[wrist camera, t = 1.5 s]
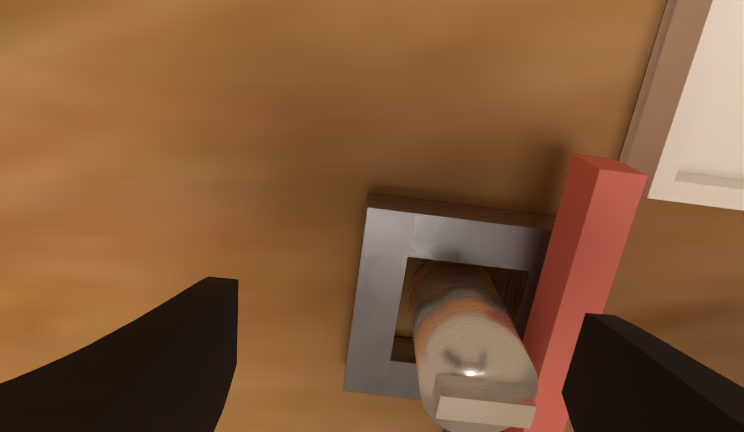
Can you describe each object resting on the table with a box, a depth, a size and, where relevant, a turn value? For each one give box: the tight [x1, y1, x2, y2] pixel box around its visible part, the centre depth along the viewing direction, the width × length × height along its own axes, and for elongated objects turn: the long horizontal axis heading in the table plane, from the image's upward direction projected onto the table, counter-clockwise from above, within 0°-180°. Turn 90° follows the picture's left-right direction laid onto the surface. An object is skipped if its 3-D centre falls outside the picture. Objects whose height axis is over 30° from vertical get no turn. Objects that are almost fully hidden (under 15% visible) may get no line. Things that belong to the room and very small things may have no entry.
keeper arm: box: [500, 154, 648, 432], centre depth 17 cm, size 13×3×2 cm, turn 173°
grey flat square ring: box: [343, 193, 556, 399], centre depth 20 cm, size 8×8×2 cm
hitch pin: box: [408, 260, 538, 432], centre depth 18 cm, size 4×4×7 cm
